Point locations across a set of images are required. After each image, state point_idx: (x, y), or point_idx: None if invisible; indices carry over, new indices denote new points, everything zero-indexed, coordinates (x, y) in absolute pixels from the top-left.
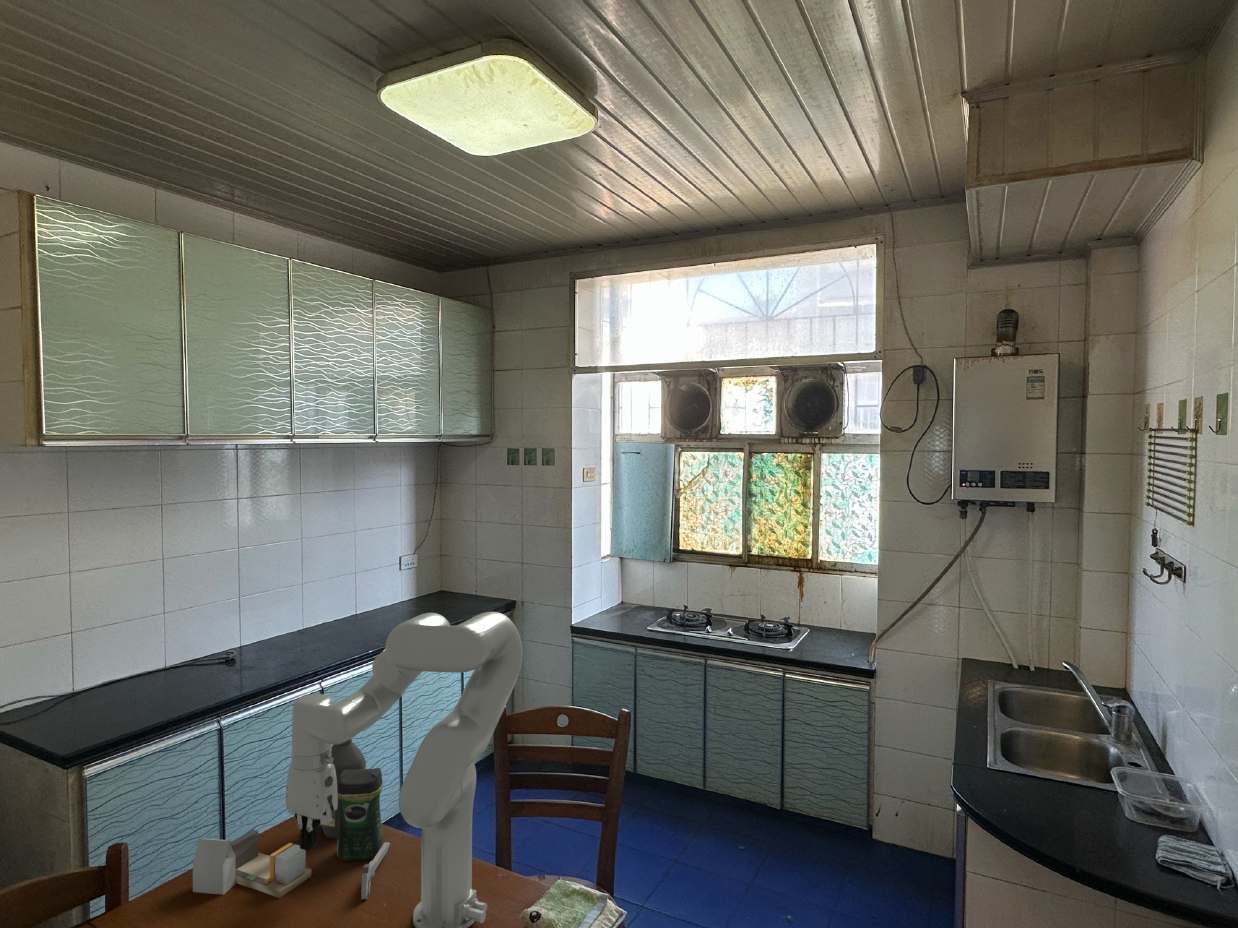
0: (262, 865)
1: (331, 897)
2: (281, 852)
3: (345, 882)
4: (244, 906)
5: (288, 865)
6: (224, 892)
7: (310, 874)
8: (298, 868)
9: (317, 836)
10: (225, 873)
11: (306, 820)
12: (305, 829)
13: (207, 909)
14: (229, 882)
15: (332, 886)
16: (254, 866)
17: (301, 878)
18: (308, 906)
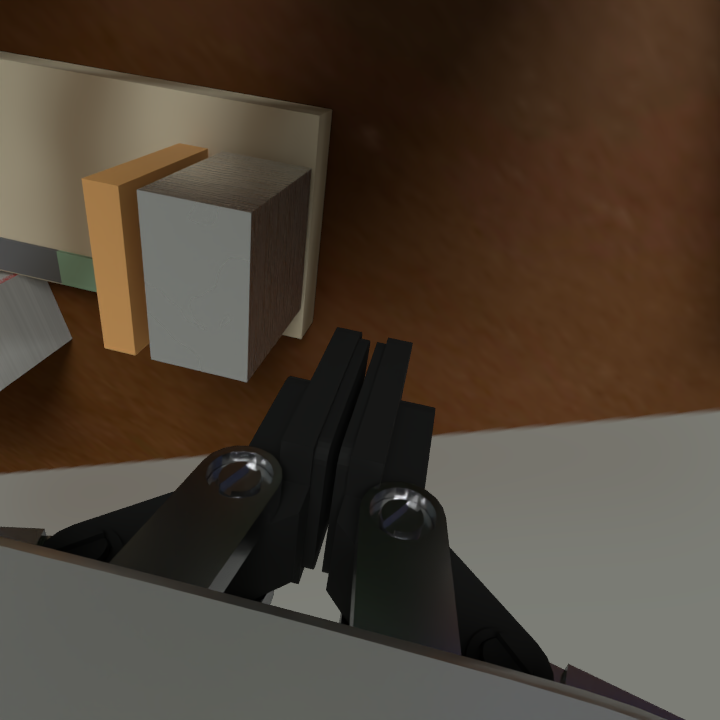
0: (32, 160)
1: (582, 271)
2: (135, 289)
3: (600, 112)
4: (217, 391)
5: (266, 338)
6: (67, 335)
7: (327, 117)
8: (293, 240)
9: (429, 439)
10: (3, 369)
11: (243, 571)
12: (303, 544)
13: (110, 421)
14: (36, 315)
15: (531, 175)
16: (6, 178)
17: (317, 193)
18: (495, 354)
